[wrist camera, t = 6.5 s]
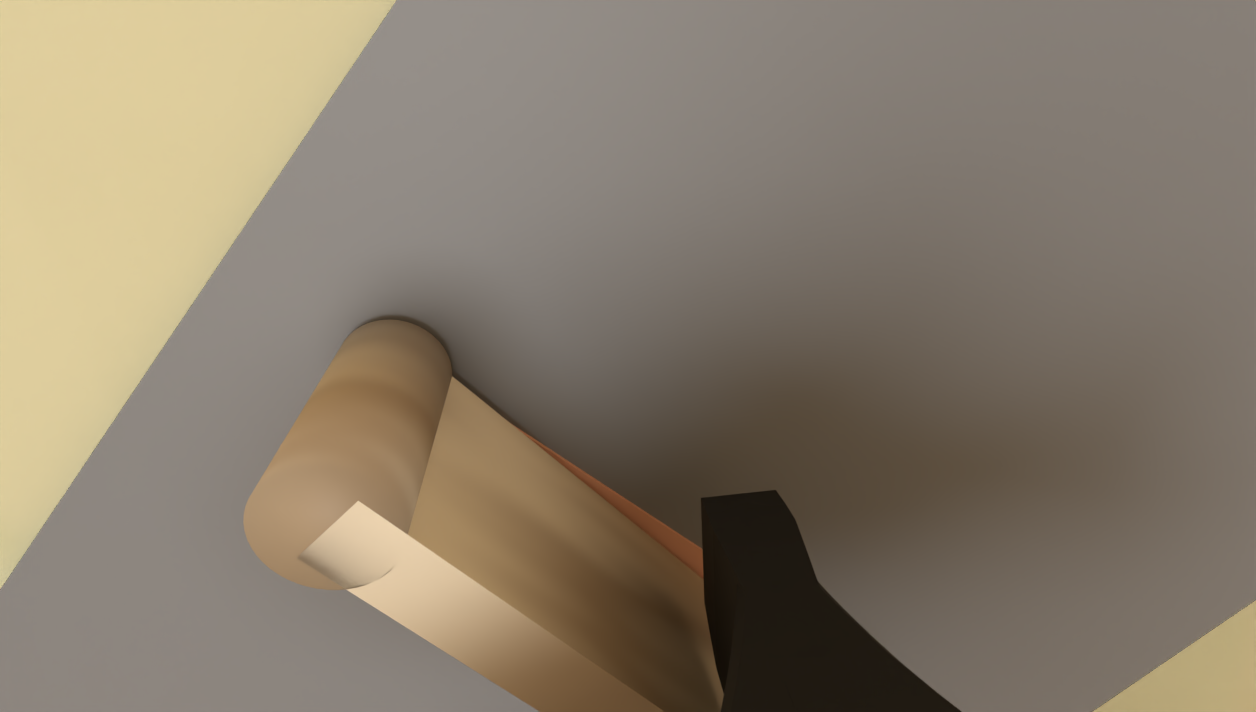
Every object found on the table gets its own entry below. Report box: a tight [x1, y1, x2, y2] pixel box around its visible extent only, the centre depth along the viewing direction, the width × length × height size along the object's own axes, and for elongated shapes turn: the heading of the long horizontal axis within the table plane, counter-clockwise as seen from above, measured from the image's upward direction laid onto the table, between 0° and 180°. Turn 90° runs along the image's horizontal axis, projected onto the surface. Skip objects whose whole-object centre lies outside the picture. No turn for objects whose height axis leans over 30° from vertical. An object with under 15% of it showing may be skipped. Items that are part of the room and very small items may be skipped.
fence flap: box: [243, 319, 724, 712], centre depth 11 cm, size 9×2×4 cm, turn 43°
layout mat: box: [0, 0, 1256, 712], centre depth 14 cm, size 18×24×1 cm
